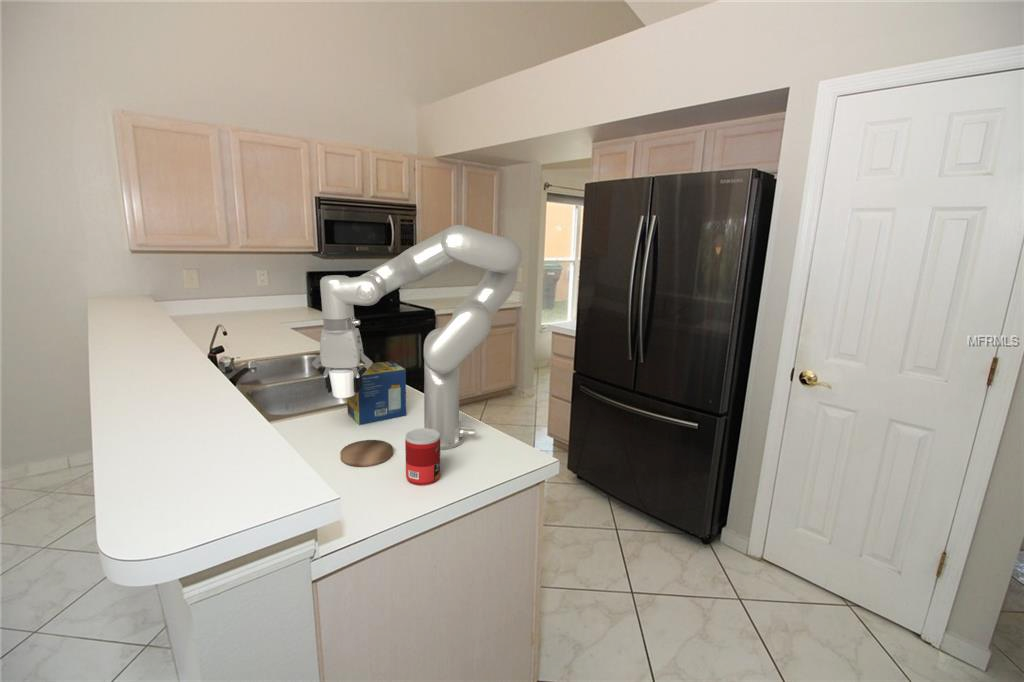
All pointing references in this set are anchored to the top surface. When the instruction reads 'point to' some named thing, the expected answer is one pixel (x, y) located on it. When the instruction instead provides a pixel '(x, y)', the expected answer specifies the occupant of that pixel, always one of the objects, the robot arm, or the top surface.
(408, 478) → the canned food
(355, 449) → the brown round coaster
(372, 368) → the protein box
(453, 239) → the robot arm
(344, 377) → the white cup
